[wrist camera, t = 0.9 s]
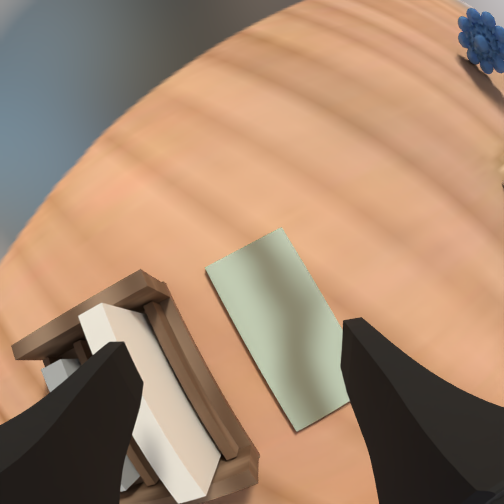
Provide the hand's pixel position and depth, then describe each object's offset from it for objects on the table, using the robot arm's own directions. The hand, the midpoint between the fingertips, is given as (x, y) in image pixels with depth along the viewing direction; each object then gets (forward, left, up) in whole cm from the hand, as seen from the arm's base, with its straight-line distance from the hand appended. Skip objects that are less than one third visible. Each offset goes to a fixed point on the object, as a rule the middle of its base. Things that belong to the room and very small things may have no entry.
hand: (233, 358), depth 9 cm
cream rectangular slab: (-6, +4, -13) cm, 15 cm away
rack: (-4, +3, -14) cm, 15 cm away
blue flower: (+54, -19, -14) cm, 59 cm away
